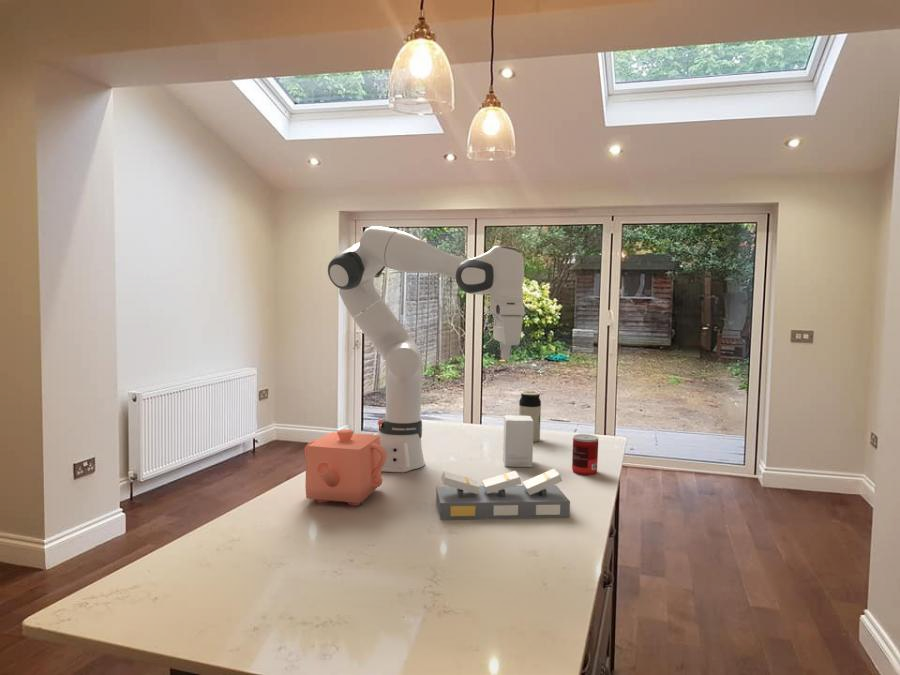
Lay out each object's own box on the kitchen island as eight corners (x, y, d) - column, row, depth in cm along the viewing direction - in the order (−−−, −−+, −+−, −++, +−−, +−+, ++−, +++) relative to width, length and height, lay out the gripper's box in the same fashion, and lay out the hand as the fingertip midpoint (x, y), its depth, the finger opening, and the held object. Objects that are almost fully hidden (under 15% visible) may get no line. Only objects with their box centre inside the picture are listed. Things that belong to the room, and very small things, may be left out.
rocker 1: (443, 484, 155) (445, 477, 155) (441, 477, 161) (443, 470, 161) (477, 494, 156) (479, 486, 156) (474, 487, 162) (476, 479, 162)
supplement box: (532, 467, 199) (534, 420, 197) (504, 467, 199) (505, 420, 198) (529, 460, 208) (531, 415, 207) (502, 459, 208) (503, 414, 207)
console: (440, 519, 152) (440, 496, 152) (436, 501, 165) (436, 480, 165) (569, 517, 155) (570, 495, 155) (555, 499, 168) (556, 479, 168)
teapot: (365, 521, 150) (365, 448, 148) (277, 513, 154) (277, 441, 153) (395, 489, 174) (396, 426, 173) (318, 483, 179) (318, 421, 177)
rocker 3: (529, 495, 158) (526, 488, 158) (524, 488, 163) (522, 481, 163) (562, 481, 158) (559, 474, 158) (556, 474, 164) (553, 467, 164)
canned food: (595, 468, 199) (596, 434, 198) (598, 476, 191) (600, 440, 190) (570, 467, 199) (571, 433, 199) (573, 475, 192) (574, 439, 191)
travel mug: (515, 440, 234) (516, 392, 233) (522, 436, 241) (524, 389, 240) (535, 443, 231) (536, 394, 229) (542, 439, 238) (544, 391, 236)
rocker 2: (487, 493, 157) (485, 486, 156) (483, 486, 162) (481, 479, 162) (521, 483, 157) (519, 476, 157) (517, 477, 163) (515, 470, 163)
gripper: (488, 306, 177) (487, 355, 178) (501, 308, 156) (500, 363, 157) (510, 306, 177) (509, 355, 178) (526, 308, 157) (525, 364, 158)
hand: (505, 359), depth 168 cm, fingers closed
